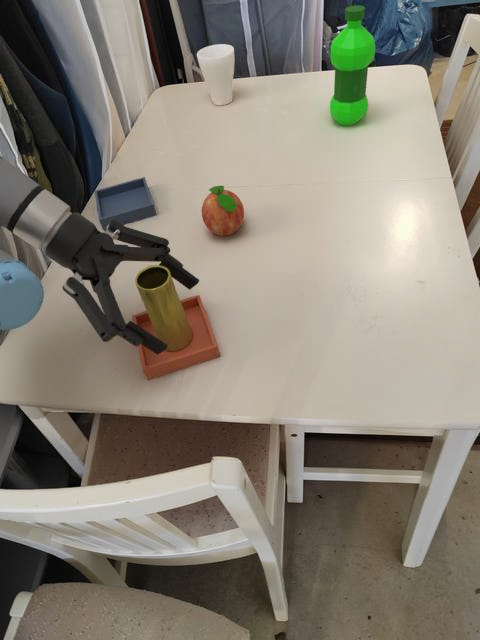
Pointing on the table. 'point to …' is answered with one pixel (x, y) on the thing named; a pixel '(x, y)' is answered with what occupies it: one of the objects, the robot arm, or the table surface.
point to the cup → (218, 71)
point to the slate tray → (124, 202)
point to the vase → (164, 307)
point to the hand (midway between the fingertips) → (179, 315)
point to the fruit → (222, 211)
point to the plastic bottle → (351, 68)
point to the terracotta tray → (192, 354)
